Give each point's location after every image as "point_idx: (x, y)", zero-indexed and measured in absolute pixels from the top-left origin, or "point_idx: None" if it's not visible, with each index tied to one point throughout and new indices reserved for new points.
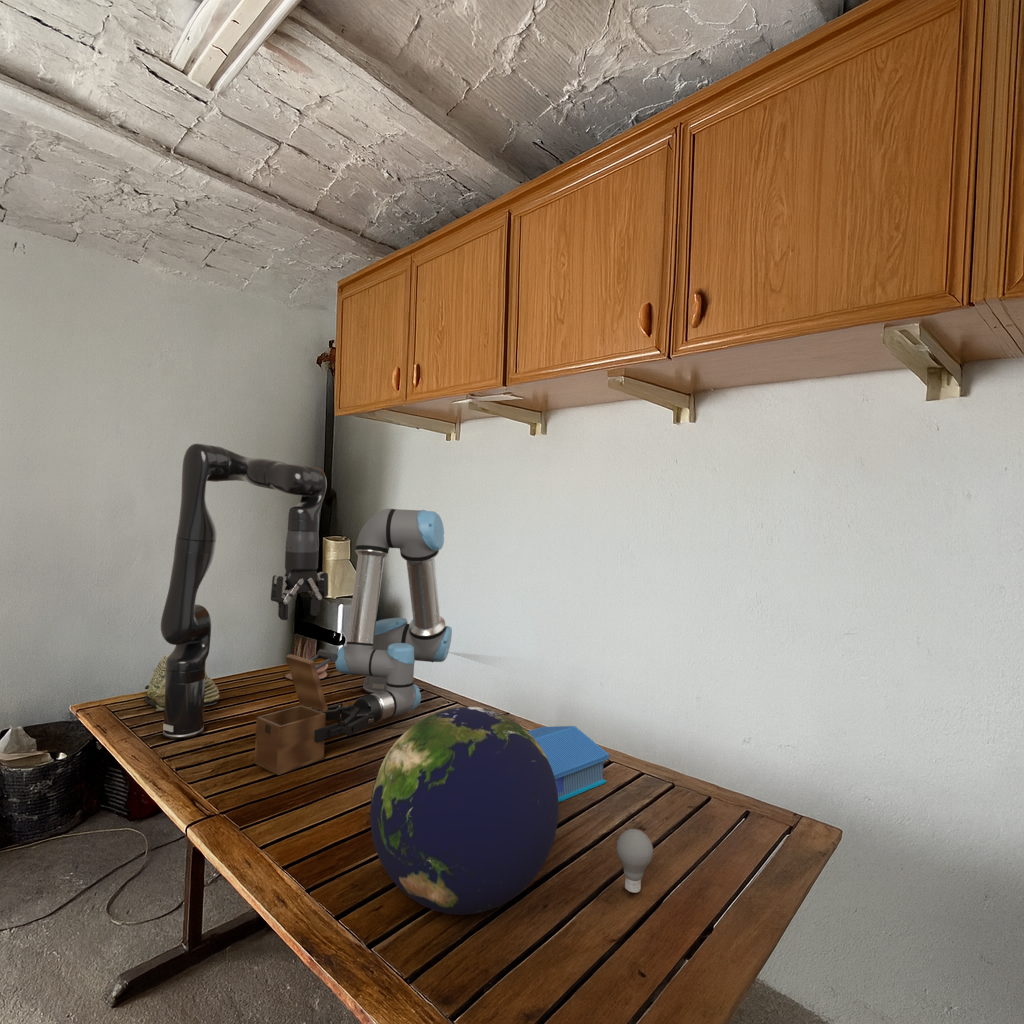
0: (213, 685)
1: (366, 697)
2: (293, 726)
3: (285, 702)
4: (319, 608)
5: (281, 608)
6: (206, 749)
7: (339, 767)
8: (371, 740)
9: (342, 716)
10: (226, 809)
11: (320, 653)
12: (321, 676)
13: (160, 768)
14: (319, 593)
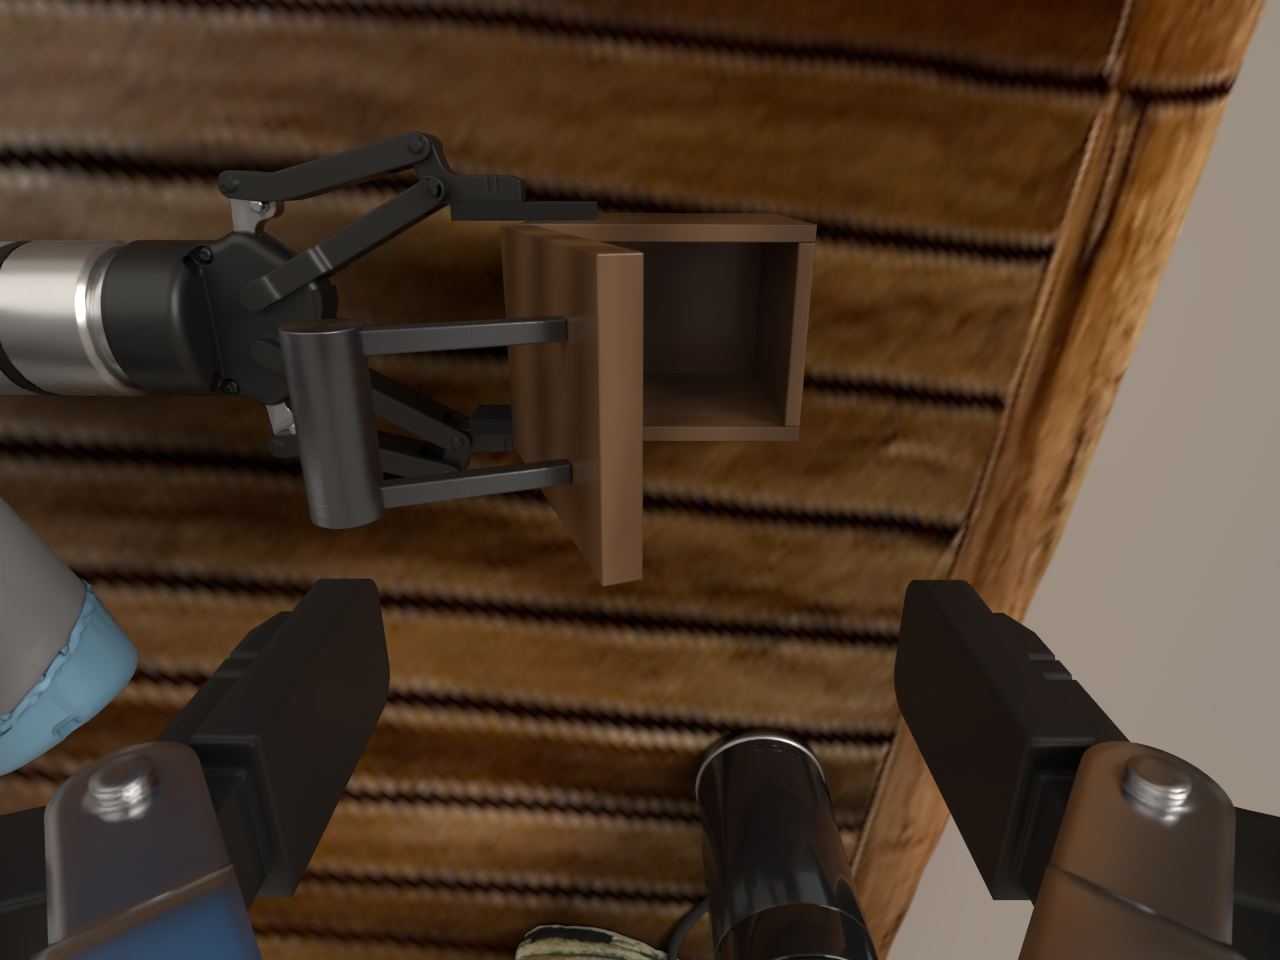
0: None
1: (156, 324)
2: (732, 223)
3: None
4: (240, 656)
5: (1104, 729)
6: (790, 613)
7: (554, 80)
8: (270, 223)
9: None
10: (1077, 99)
11: (371, 478)
12: None
13: (977, 577)
14: (62, 884)
